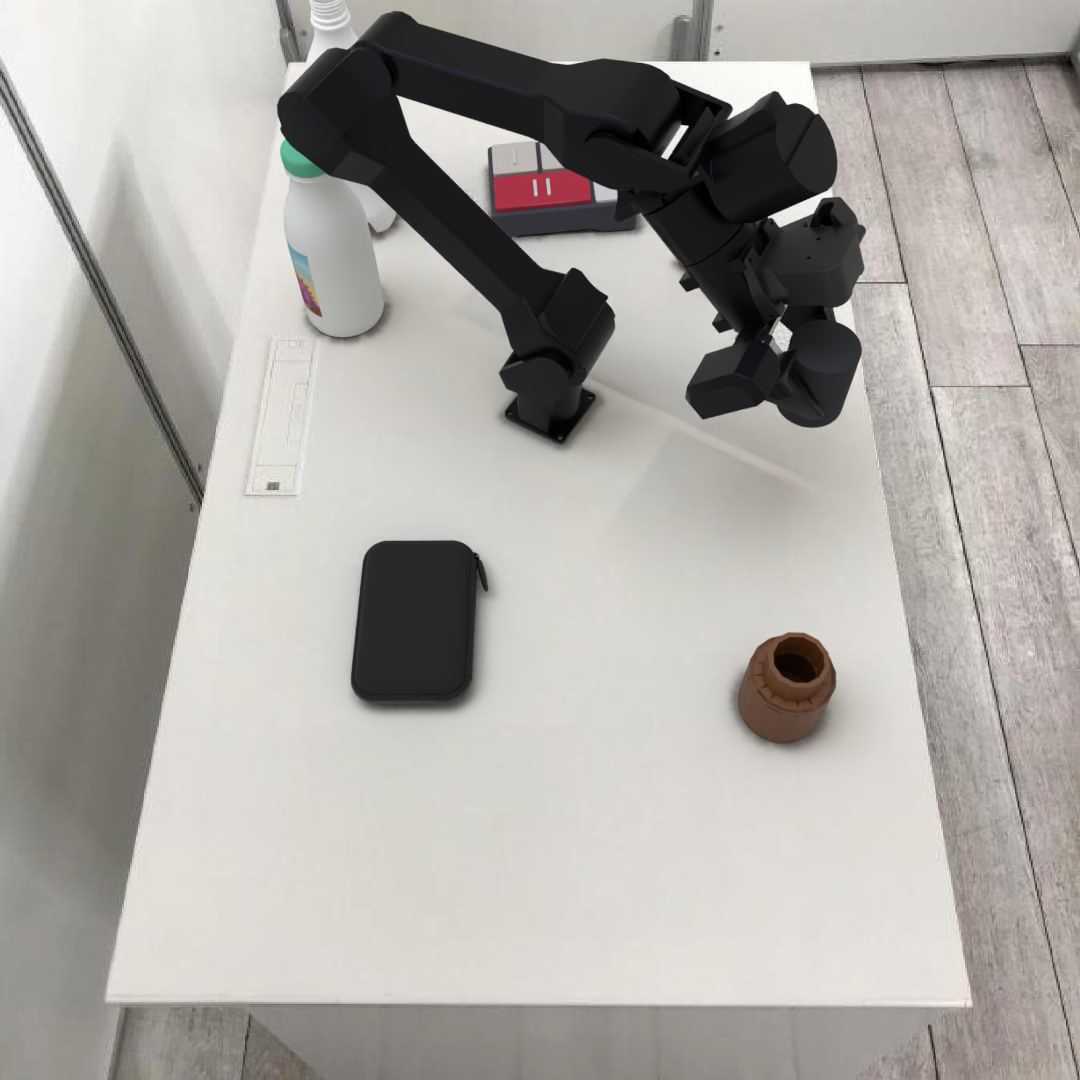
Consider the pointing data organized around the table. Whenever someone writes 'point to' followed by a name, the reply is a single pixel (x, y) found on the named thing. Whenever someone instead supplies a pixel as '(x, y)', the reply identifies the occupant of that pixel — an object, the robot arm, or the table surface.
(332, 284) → the milk bottle
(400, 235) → the table surface
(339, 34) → the water bottle
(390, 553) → the carrying case
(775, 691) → the bottle
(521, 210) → the calculator
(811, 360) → the bung
